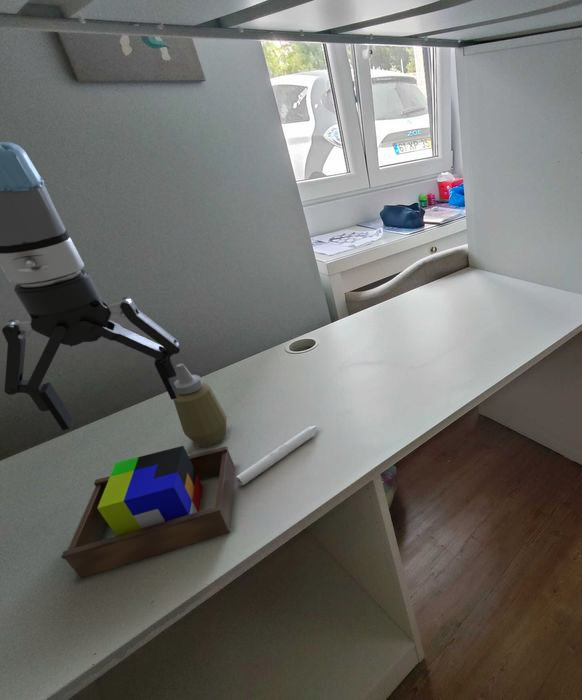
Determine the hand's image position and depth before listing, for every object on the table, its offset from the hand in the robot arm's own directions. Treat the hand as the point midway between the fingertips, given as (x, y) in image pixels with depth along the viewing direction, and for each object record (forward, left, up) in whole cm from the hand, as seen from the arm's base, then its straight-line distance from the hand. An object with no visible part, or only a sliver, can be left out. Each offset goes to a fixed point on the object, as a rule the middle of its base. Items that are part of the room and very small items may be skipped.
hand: (123, 409), depth 67 cm
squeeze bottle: (+4, +17, -21) cm, 28 cm away
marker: (+18, +5, -21) cm, 28 cm away
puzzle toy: (-1, -2, -21) cm, 22 cm away
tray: (-1, -2, -21) cm, 21 cm away
